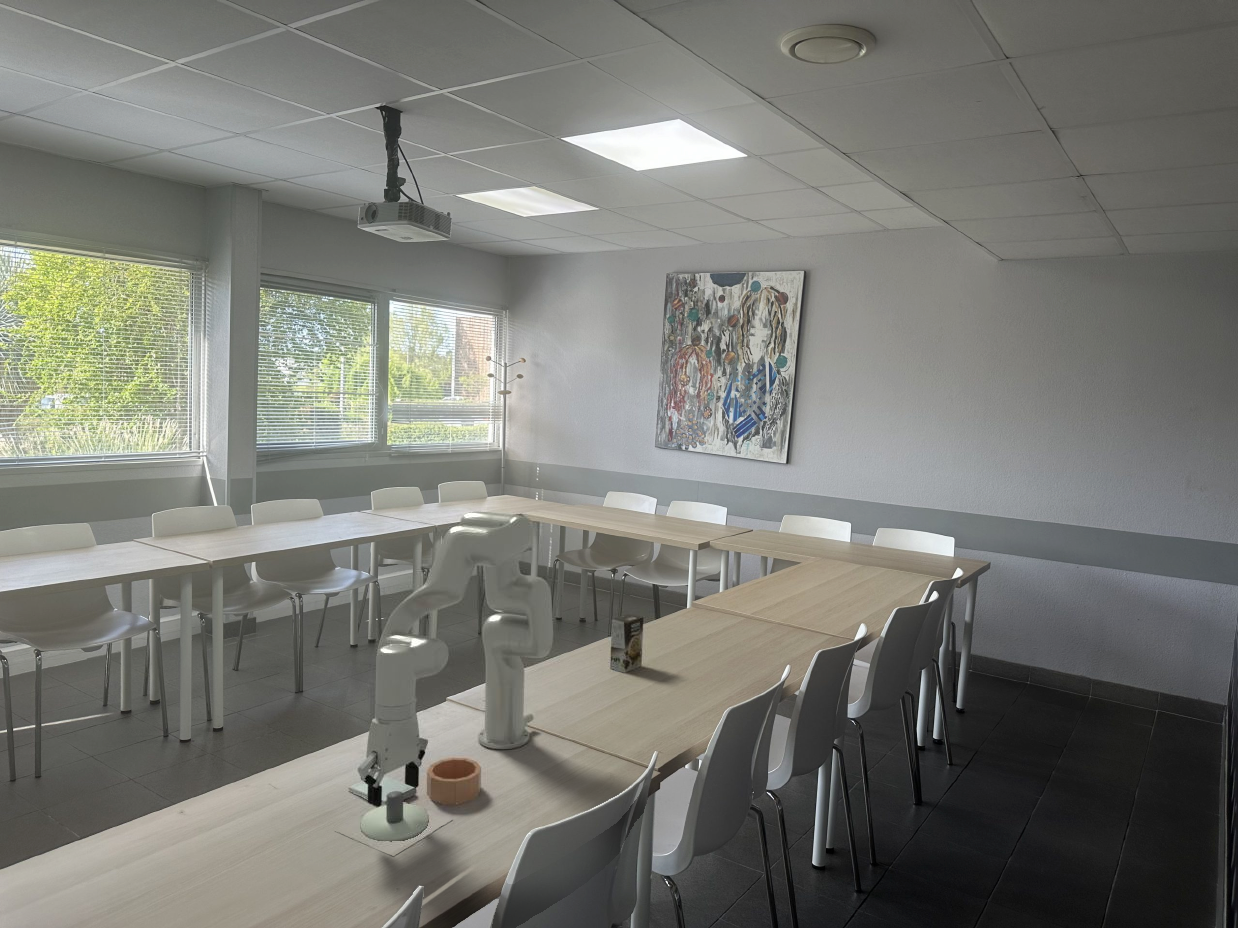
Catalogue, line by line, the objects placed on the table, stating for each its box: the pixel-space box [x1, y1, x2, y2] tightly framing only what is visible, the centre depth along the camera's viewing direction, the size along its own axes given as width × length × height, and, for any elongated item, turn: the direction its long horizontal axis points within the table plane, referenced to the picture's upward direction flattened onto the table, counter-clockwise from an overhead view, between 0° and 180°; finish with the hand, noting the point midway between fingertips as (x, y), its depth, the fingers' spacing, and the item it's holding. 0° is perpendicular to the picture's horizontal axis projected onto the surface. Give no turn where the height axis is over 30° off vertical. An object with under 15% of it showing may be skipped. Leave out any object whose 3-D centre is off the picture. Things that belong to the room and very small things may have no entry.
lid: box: [360, 791, 429, 842], centre depth 163 cm, size 13×13×6 cm
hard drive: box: [347, 774, 418, 806], centre depth 176 cm, size 2×8×12 cm
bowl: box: [426, 757, 482, 805], centre depth 178 cm, size 11×11×6 cm
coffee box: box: [609, 613, 644, 673], centre depth 263 cm, size 9×6×16 cm
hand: (393, 794), depth 162 cm, fingers open, 9 cm apart
